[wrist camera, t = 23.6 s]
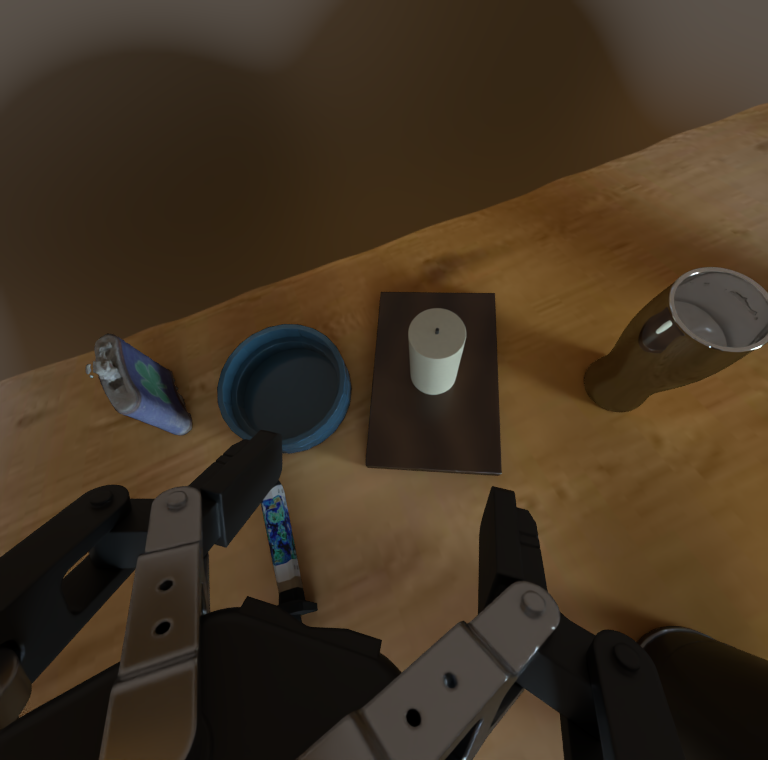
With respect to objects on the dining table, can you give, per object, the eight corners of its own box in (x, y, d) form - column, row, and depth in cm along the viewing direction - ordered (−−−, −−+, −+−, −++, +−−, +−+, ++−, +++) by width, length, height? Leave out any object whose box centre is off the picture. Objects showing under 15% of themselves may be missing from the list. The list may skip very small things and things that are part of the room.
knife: (269, 474, 37) (250, 474, 33) (299, 468, 37) (284, 467, 33) (315, 870, 29) (298, 938, 25) (353, 863, 29) (342, 930, 25)
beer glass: (589, 420, 38) (688, 360, 24) (571, 357, 40) (651, 270, 26) (660, 413, 38) (803, 348, 24) (637, 350, 40) (754, 258, 26)
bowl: (357, 342, 43) (351, 325, 40) (344, 457, 39) (337, 450, 35) (248, 339, 45) (232, 322, 41) (223, 450, 40) (203, 442, 36)
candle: (456, 353, 40) (467, 304, 31) (456, 395, 38) (467, 357, 30) (411, 352, 41) (409, 303, 32) (409, 393, 39) (406, 355, 30)
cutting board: (492, 300, 44) (495, 292, 42) (498, 475, 37) (501, 474, 35) (381, 298, 45) (380, 291, 44) (367, 467, 38) (365, 465, 37)
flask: (197, 428, 41) (126, 397, 31) (172, 442, 41) (93, 416, 31) (170, 364, 44) (97, 318, 35) (147, 377, 44) (67, 334, 34)
